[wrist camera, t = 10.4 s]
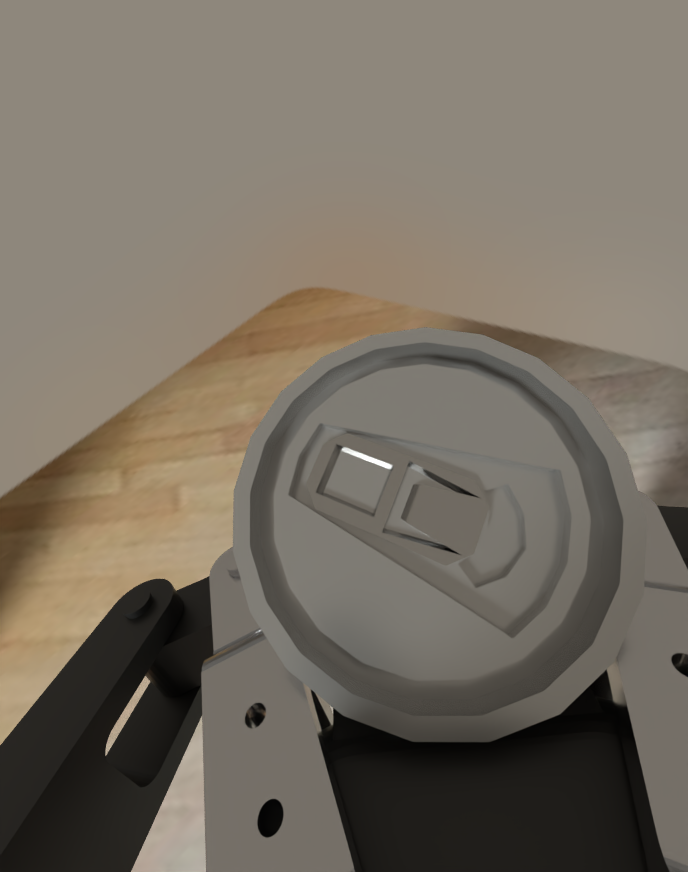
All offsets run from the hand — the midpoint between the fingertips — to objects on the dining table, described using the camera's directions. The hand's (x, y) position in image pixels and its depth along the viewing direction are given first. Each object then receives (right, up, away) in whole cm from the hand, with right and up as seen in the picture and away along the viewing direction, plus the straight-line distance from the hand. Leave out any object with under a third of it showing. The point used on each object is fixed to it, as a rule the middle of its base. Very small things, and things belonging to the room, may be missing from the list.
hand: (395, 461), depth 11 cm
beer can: (+1, -3, +5) cm, 6 cm away
